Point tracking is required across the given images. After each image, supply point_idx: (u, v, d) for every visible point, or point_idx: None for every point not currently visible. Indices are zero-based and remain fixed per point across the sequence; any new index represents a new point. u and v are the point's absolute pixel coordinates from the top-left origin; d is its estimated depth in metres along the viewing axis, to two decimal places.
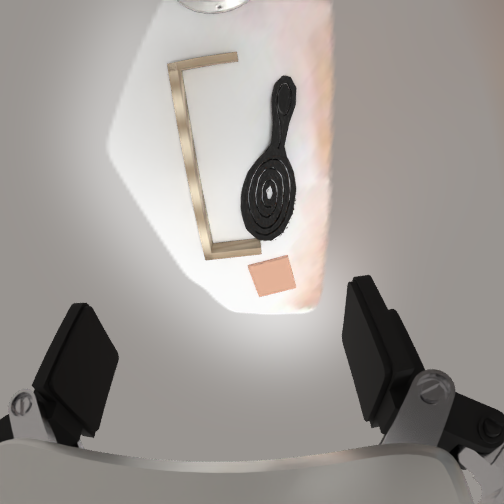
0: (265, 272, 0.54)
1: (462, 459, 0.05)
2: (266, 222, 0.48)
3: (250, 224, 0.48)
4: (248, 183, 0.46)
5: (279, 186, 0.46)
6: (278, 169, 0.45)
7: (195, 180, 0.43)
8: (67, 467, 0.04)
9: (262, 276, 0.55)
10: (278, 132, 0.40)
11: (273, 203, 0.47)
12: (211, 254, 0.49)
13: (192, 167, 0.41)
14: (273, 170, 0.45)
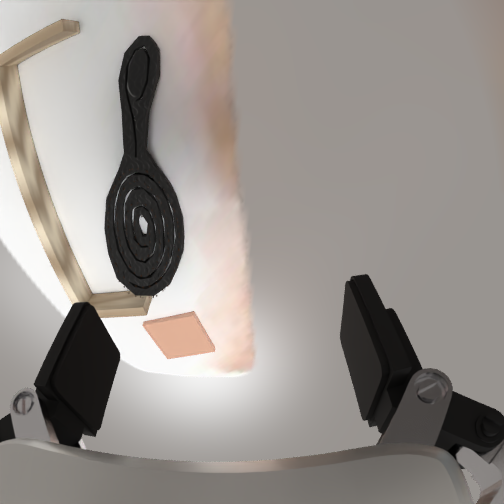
0: (167, 332, 0.37)
1: (459, 459, 0.05)
2: (144, 269, 0.30)
3: (122, 272, 0.30)
4: (110, 213, 0.28)
5: (155, 214, 0.28)
6: (147, 188, 0.27)
7: (38, 217, 0.25)
8: (67, 467, 0.04)
9: (165, 337, 0.37)
10: (131, 129, 0.22)
11: (150, 241, 0.30)
12: None
13: (30, 200, 0.24)
14: (140, 191, 0.27)
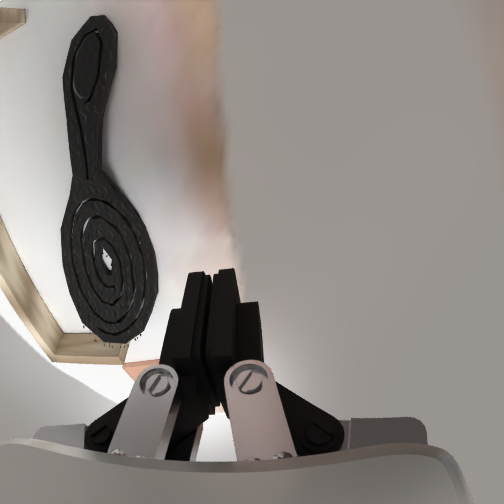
0: None
1: None
2: (112, 313, 0.24)
3: (87, 315, 0.23)
4: (67, 246, 0.21)
5: (119, 249, 0.22)
6: (107, 218, 0.20)
7: None
8: (67, 467, 0.04)
9: None
10: (79, 143, 0.16)
11: (117, 280, 0.23)
12: (55, 356, 0.25)
13: None
14: (99, 220, 0.20)
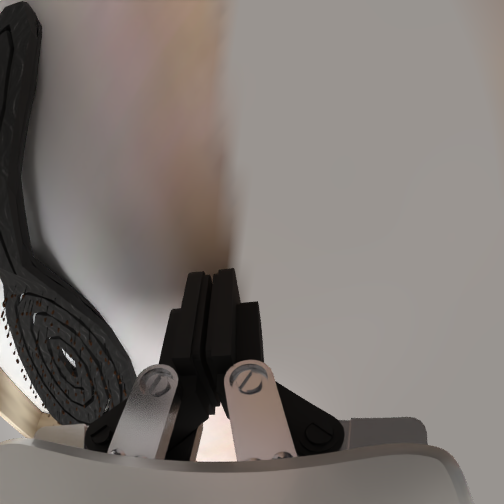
0: None
1: None
2: (85, 414, 0.16)
3: (57, 411, 0.16)
4: (18, 337, 0.14)
5: (82, 352, 0.14)
6: (58, 317, 0.13)
7: None
8: (67, 467, 0.04)
9: None
10: None
11: (85, 383, 0.15)
12: None
13: None
14: (48, 318, 0.13)
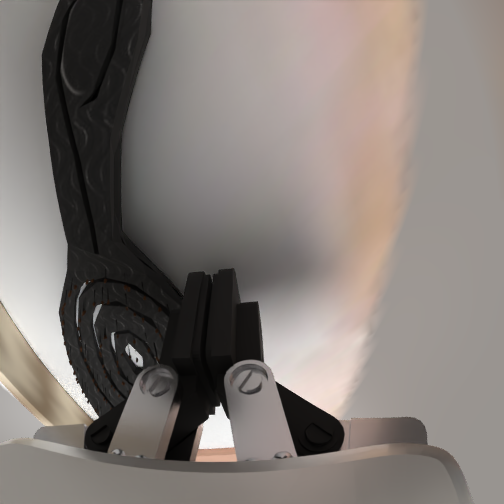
0: None
1: None
2: None
3: None
4: (71, 334, 0.14)
5: (156, 346, 0.14)
6: (135, 306, 0.12)
7: None
8: (67, 467, 0.04)
9: None
10: (75, 187, 0.08)
11: None
12: None
13: None
14: (121, 308, 0.12)
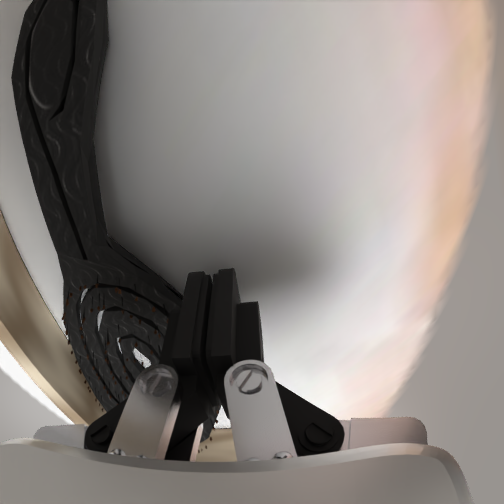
0: None
1: None
2: None
3: None
4: (79, 344, 0.14)
5: (161, 349, 0.14)
6: (134, 309, 0.12)
7: (24, 355, 0.11)
8: (67, 467, 0.04)
9: None
10: (56, 197, 0.08)
11: None
12: None
13: None
14: (121, 313, 0.12)
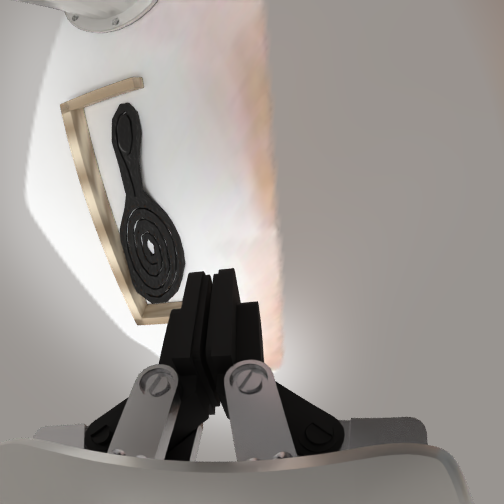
0: None
1: None
2: (156, 282, 0.39)
3: (140, 286, 0.39)
4: (124, 241, 0.37)
5: (158, 238, 0.37)
6: (149, 218, 0.35)
7: (107, 240, 0.34)
8: (67, 467, 0.04)
9: None
10: (128, 176, 0.31)
11: (158, 258, 0.38)
12: (142, 319, 0.40)
13: (101, 225, 0.33)
14: (144, 221, 0.35)
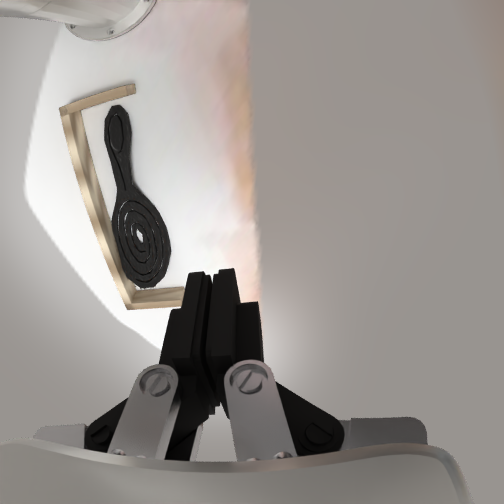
0: None
1: None
2: (145, 268, 0.42)
3: (129, 272, 0.42)
4: (115, 230, 0.40)
5: (146, 227, 0.40)
6: (138, 210, 0.38)
7: (101, 232, 0.37)
8: (67, 467, 0.04)
9: None
10: (119, 172, 0.34)
11: (146, 247, 0.41)
12: (132, 304, 0.44)
13: (96, 218, 0.36)
14: (133, 212, 0.38)
